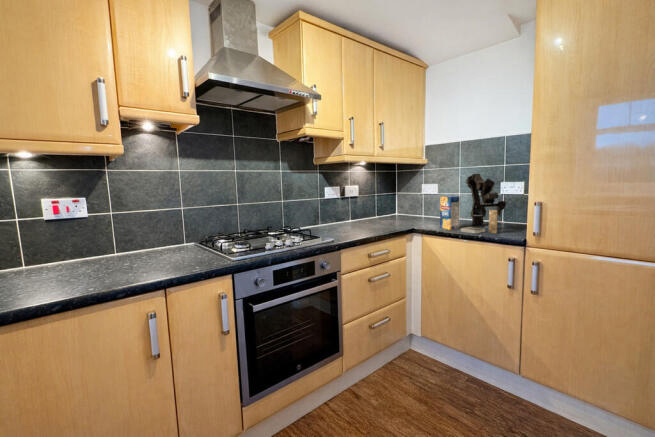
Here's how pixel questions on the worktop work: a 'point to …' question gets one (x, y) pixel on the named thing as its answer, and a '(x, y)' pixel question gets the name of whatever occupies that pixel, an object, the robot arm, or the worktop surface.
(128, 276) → the worktop surface
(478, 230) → the hole plate
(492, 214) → the maple peg
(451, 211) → the blue yellow food box
